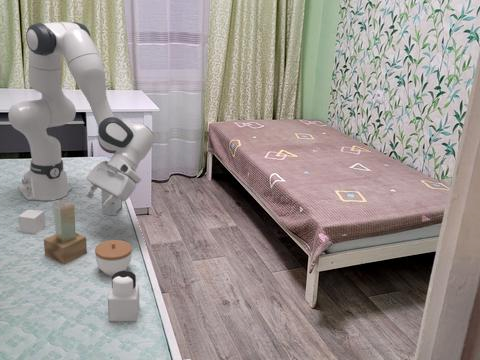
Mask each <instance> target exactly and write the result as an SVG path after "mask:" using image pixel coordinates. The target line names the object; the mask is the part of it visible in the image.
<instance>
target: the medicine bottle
mask: <svg viewBox="0 0 480 360" xmlns="http://www.w3.org/2000/svg"><path fill="white" fill-rule="evenodd" d="M136 276H137V275H136V274H135V273H134V272H133V271H130V270H124V271H119V272H117V273H115V274H114V275H113V276H111V289H110V292H109V295H108V299H107V301H108V302H107V303H108V321H109V322H137V321H136V320H138V315H139V309H140V284H139V283H137V282H136V281H137V279H136V278H137V277H136Z"/></svg>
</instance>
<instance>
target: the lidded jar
mask: <svg viewBox="0 0 480 360" xmlns="http://www.w3.org/2000/svg"><path fill="white" fill-rule="evenodd" d="M132 250H133V249H132V245H131V243H129V242H127V241H124V240H120V239H110V240H105V241H102V242H100V243H99V244H98V245H96V246H95V248H94V254H95V261H96V264H97V267H98V268H99V269H100V271H101V272H103V273H104V274H105V275H106V276H111V277H112V276H113V275H114V274H115V273H117V272H119V271H127V269H128V268H129V266H130V264H131V260H132Z"/></svg>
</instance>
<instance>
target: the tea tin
mask: <svg viewBox="0 0 480 360" xmlns="http://www.w3.org/2000/svg"><path fill="white" fill-rule="evenodd" d="M52 204H53V209H54V210H53V211H54V226H55V234H56V238H57V239H58V240H59V241H60V242H61V243H65V242H68V241H71V240H75V239H76V233H77V231H76V211H75V210H76V209H75V208H76V204H75V203H74V202H73V201H71V200H70V199H69V198H67V199H61V200H58V201H53V203H52Z"/></svg>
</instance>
